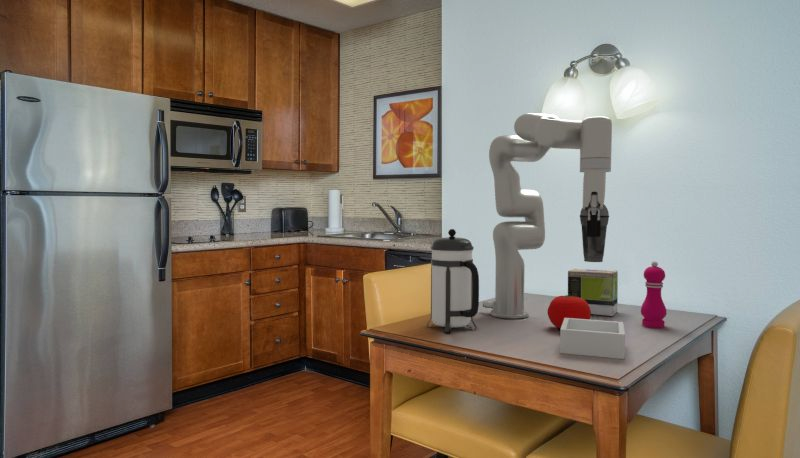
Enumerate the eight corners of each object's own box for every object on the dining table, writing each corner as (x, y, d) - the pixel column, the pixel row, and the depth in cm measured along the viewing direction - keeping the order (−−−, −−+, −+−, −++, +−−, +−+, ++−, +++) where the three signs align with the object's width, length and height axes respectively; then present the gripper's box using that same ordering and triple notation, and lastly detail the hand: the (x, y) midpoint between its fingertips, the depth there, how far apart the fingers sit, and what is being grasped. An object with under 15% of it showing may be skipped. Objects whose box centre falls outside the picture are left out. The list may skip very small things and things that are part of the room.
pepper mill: (669, 329, 162) (670, 262, 162) (643, 328, 164) (644, 262, 163) (662, 323, 170) (664, 260, 169) (637, 322, 171) (639, 259, 170)
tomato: (540, 326, 165) (541, 292, 165) (573, 323, 170) (573, 290, 169) (564, 335, 155) (564, 298, 154) (598, 331, 159) (599, 296, 158)
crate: (560, 353, 136) (560, 329, 136) (564, 339, 150) (564, 317, 150) (624, 359, 131) (625, 334, 131) (622, 344, 145) (623, 322, 145)
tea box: (617, 312, 188) (618, 269, 188) (612, 317, 180) (613, 273, 179) (573, 307, 196) (574, 267, 195) (566, 312, 188) (567, 270, 187)
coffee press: (419, 332, 158) (419, 229, 156) (434, 321, 173) (435, 227, 171) (477, 337, 152) (478, 230, 150) (488, 325, 167) (489, 228, 165)
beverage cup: (573, 259, 143) (575, 183, 142) (600, 259, 143) (602, 184, 142) (585, 262, 136) (587, 182, 135) (613, 262, 136) (615, 183, 135)
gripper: (581, 168, 148) (579, 233, 149) (578, 164, 132) (576, 237, 132) (610, 167, 145) (609, 234, 146) (611, 163, 129) (609, 238, 130)
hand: (593, 235), depth 139 cm, fingers closed on beverage cup, 6 cm apart
